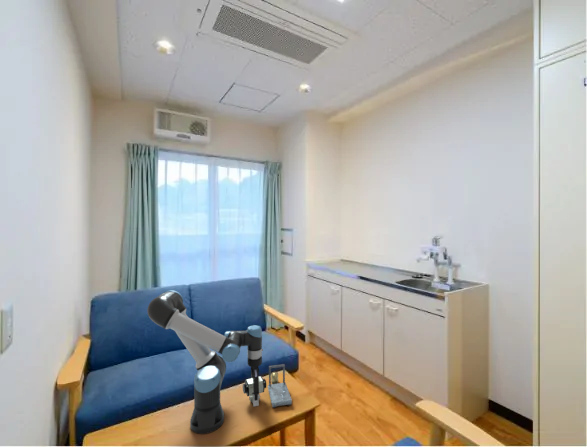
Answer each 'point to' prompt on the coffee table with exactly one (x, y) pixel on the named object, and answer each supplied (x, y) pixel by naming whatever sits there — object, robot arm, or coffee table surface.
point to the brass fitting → (274, 377)
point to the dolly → (279, 390)
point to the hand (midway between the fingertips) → (254, 398)
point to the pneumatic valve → (249, 387)
